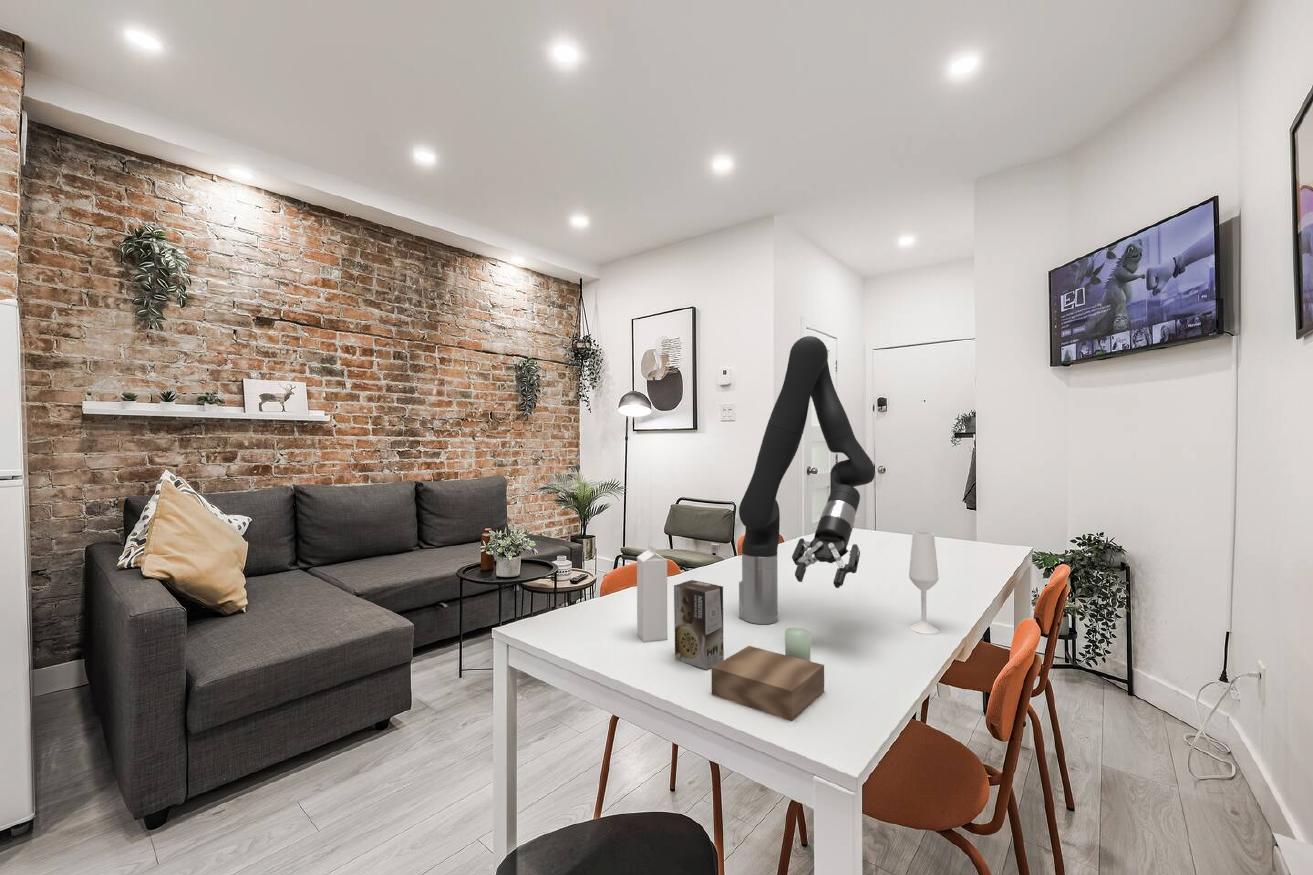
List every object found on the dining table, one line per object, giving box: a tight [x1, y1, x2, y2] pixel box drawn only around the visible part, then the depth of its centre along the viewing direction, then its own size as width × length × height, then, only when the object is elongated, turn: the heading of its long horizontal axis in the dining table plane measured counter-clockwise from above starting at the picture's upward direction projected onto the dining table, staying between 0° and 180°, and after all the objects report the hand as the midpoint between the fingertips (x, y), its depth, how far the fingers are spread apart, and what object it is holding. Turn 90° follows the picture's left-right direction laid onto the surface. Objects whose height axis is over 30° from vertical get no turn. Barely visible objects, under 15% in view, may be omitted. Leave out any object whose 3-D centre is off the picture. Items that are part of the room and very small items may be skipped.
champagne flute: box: [908, 530, 940, 635], centre depth 140 cm, size 7×7×24 cm
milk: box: [636, 543, 668, 643], centre depth 135 cm, size 6×6×22 cm
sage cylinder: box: [784, 627, 811, 661], centre depth 115 cm, size 5×5×8 cm
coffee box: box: [673, 579, 725, 670], centre depth 120 cm, size 9×6×16 cm
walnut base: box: [711, 645, 825, 722], centre depth 104 cm, size 16×14×5 cm
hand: (817, 582), depth 122 cm, fingers open, 8 cm apart
